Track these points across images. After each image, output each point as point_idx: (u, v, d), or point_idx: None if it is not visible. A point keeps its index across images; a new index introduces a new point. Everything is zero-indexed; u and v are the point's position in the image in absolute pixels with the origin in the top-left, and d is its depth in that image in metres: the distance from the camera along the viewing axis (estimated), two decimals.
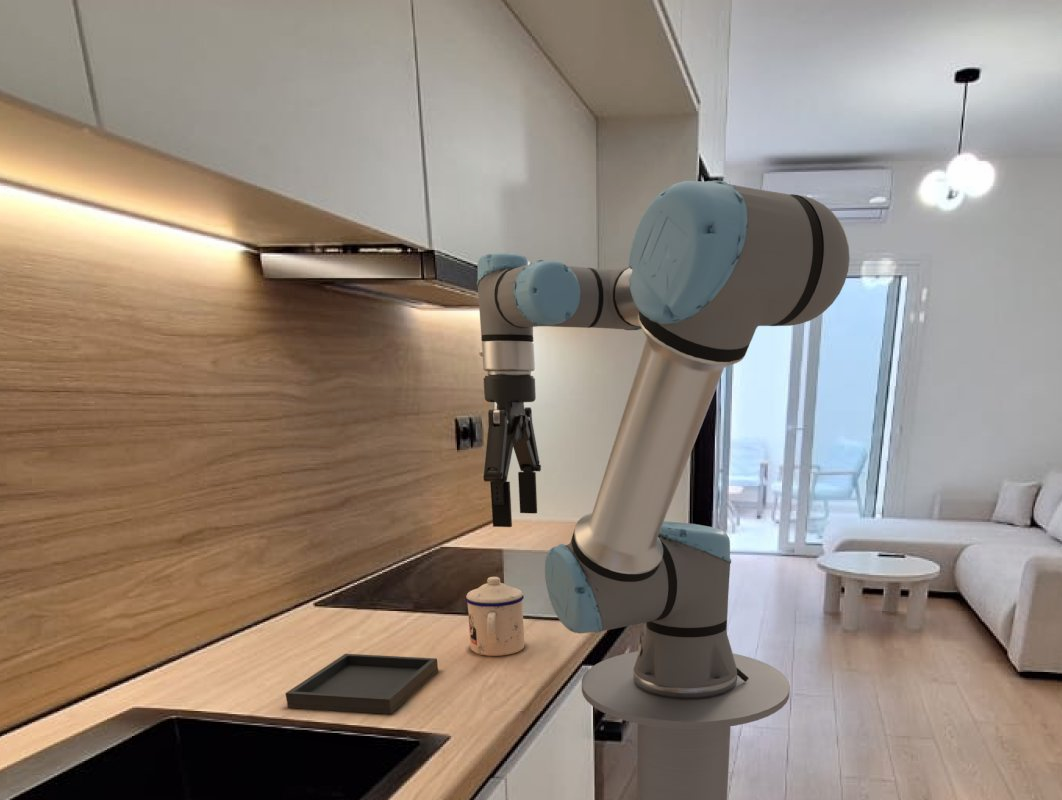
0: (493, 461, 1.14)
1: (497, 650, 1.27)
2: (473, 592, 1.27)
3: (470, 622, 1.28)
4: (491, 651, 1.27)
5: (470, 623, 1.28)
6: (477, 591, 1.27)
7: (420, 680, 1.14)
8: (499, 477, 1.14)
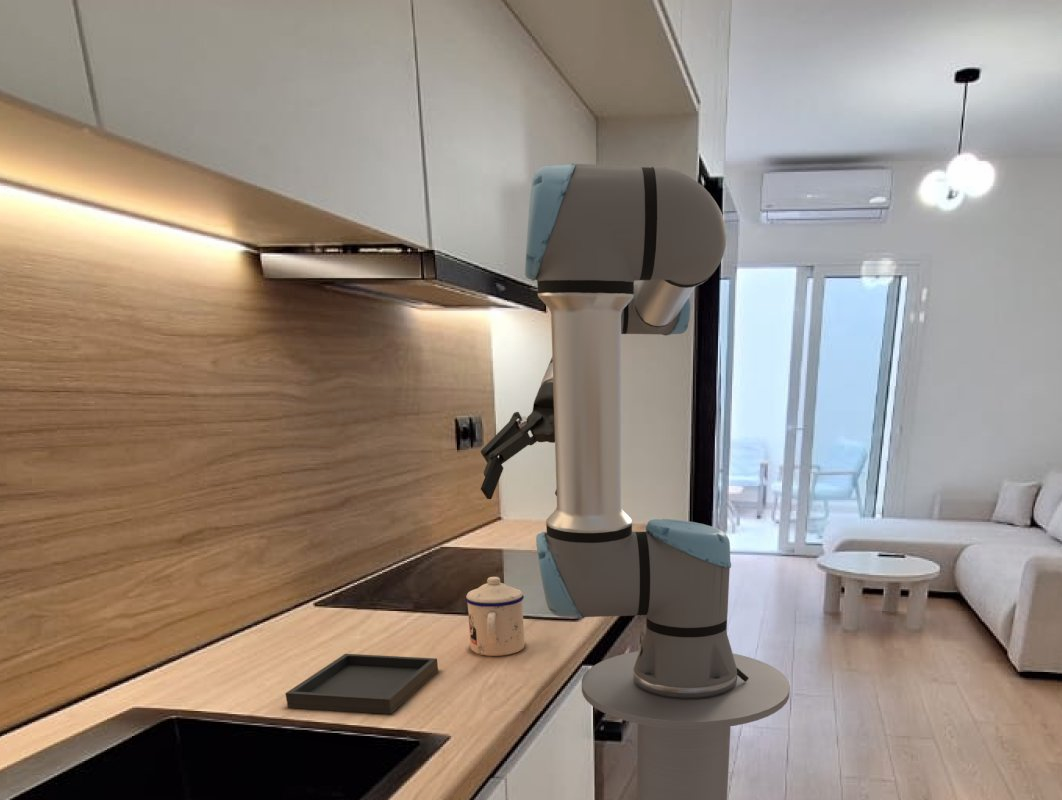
0: None
1: (497, 650, 1.27)
2: (473, 592, 1.27)
3: (470, 622, 1.28)
4: (491, 651, 1.27)
5: (470, 623, 1.28)
6: (477, 591, 1.27)
7: (420, 680, 1.14)
8: (481, 453, 1.36)
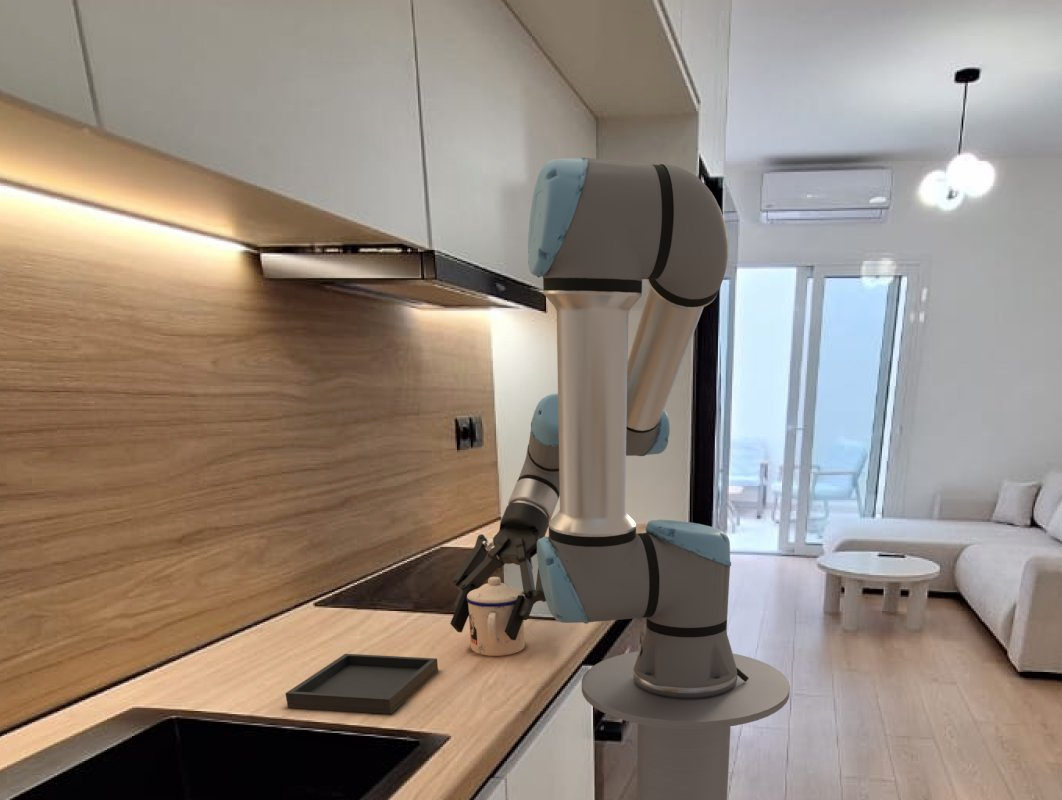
0: None
1: (498, 650, 1.27)
2: (474, 592, 1.27)
3: (471, 622, 1.28)
4: (492, 651, 1.27)
5: (471, 623, 1.28)
6: (478, 591, 1.27)
7: (420, 680, 1.14)
8: (453, 583, 1.31)
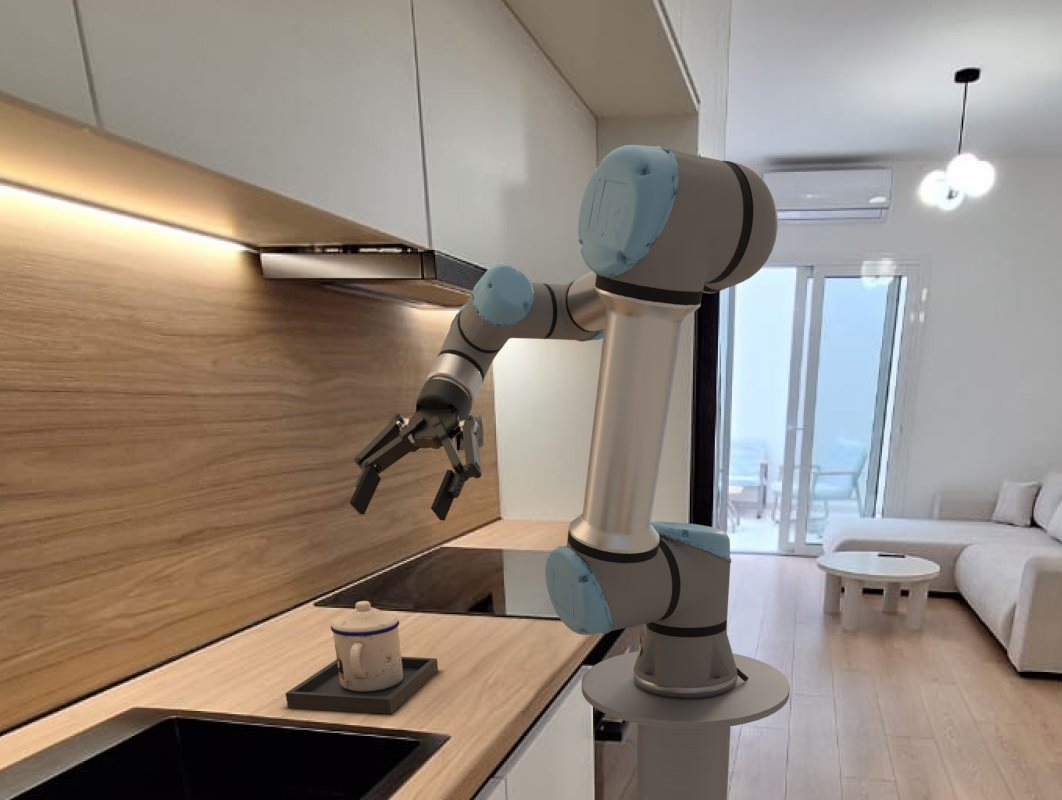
0: None
1: (367, 686, 1.11)
2: (339, 619, 1.11)
3: (336, 653, 1.11)
4: (360, 687, 1.11)
5: (336, 654, 1.11)
6: (343, 618, 1.10)
7: (420, 680, 1.14)
8: (355, 461, 1.18)
